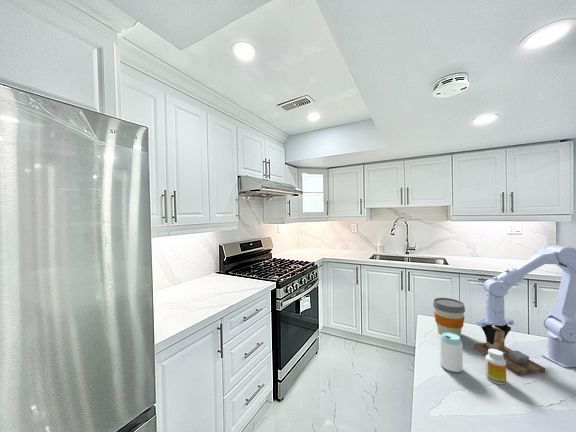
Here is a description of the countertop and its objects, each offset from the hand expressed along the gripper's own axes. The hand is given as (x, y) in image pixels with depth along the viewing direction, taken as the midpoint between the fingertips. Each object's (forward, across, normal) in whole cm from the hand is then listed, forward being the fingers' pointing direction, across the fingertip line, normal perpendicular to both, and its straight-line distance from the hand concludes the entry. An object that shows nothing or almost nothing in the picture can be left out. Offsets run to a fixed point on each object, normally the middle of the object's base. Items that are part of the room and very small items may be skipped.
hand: (495, 342), depth 100 cm
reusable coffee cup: (+4, +7, -16) cm, 18 cm away
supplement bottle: (+4, +15, +14) cm, 21 cm away
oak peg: (+2, 0, 0) cm, 3 cm away
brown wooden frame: (+4, 0, +4) cm, 6 cm away
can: (+4, +25, +6) cm, 26 cm away
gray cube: (+4, 0, +9) cm, 10 cm away
